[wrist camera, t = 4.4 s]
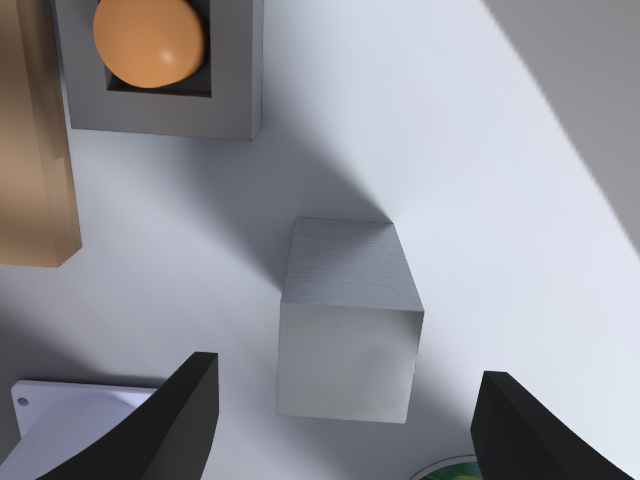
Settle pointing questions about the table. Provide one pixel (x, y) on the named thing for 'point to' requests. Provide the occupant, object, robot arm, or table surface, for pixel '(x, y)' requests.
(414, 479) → the canned tomato
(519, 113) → the table surface
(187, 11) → the button cap
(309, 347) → the billet
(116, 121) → the button housing
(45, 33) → the wooden board
